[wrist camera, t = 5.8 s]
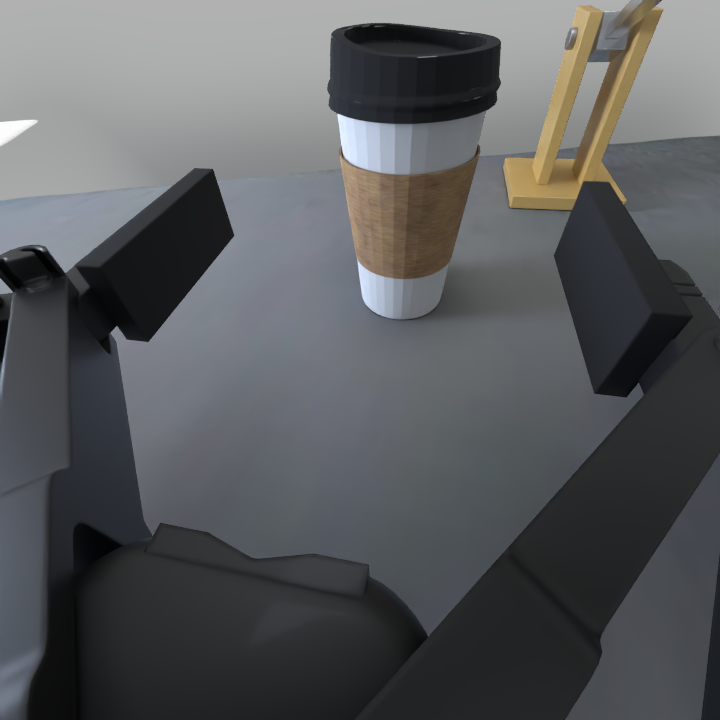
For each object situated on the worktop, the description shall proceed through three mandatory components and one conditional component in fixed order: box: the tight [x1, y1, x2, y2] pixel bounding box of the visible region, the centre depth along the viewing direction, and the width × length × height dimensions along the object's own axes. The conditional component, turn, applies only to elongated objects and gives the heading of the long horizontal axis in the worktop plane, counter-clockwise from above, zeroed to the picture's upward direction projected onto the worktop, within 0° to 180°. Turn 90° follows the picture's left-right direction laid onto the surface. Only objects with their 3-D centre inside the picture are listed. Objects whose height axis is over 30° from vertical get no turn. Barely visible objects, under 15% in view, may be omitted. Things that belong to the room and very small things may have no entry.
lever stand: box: [503, 6, 663, 210], centre depth 34 cm, size 10×10×14 cm
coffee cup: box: [327, 23, 501, 319], centre depth 22 cm, size 8×8×15 cm
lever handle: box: [587, 0, 662, 62], centre depth 25 cm, size 14×7×2 cm, turn 169°
